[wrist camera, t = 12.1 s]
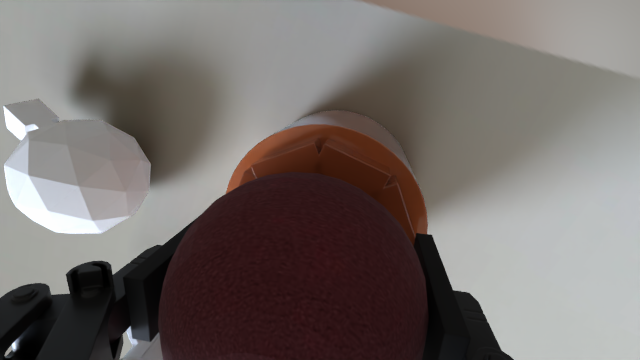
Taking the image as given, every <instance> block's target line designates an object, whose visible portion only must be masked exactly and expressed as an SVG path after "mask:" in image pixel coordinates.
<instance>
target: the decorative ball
mask: <svg viewBox="0 0 640 360" xmlns="http://www.w3.org/2000/svg"><path fill="white" fill-rule="evenodd" d="M428 323H429V313H428V302H427V291H426V281H425V276H424V273H423V270H422V267H421V264H420V261H419V258H418V255H417V253H416V251H415V249H414V247H413V245H412V243H411V241H410V239H409V238H408V236H407V234H406V233H405V231H404V229H403V228H402V226H401V224H400V223H399V222H398V221H397V220H396V219H395V218H394V217H393V215H392V214H391V213H390V212H389V211H388V210H387V209H386V208H385V207H384V206H383V205H382V204H380V203H379V202H378V201H376V200H375V199H374V198H372V197H371V196H369V195H368V194H367V193H365V192H364V191H363V190H361V189H360V188H358V187H356V186H353V185H351V184H349V183H347V182H345V181H343V180H341V179H337V178H334V177H330V176H326V175H322V174H317V173H302V172H287V173H279V174H272V175H266V176H263V177H260V178H258V179H255V180H252V181H249V182H246V183H244V184H242V185H241V186H239V187H237V188H235V189H233V190H232V191H230V192H228V193H227V194H225V195H224V196H222V197H220V198H219V199H217V200H216V201H215V202H214V203H213V204H212V205H211V206H210V207H209V208H208V209H207V210H206V211H205V212H204V213H203V214H201V215H200V217H199V218H198V219H197V220H196V221H195V222H194V223H193V224H192V225H191V226H190V227H189V229H188V230H187V232H186V233H185V235H184V237H183V238H182V240H181V242H180V243H179V245H178V247H177V249H176V251H175V253H174V255H173V257H172V259H171V261H170V263H169V265H168V269H167V272H166V275H165V279H164V282H163V286H162V292H161V297H160V303H159V317H158V328H159V336H160V345H161V351H162V357H163V360H422V357H423V352H424V347H425V342H426V336H427V330H428Z"/></svg>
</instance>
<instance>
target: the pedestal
mask: <svg viewBox="0 0 640 360" xmlns="http://www.w3.org/2000/svg"><path fill="white" fill-rule="evenodd" d="M287 172H302V173H317V174H322V175H326V176H330V177H334V178H337V179H341V180H343V181H345V182H347V183H349V184H351V185H353V186H356V187H358V188H360V189H361V190H363V191H364V192H365V193H367V194H368V195H369V196H371V197H372V198H374V199H375V200H376V201H378V202H379V203H380V204H382V205H383V206H384V207H385V208H386V209H387V210H388V211H389V212H390V213H391V214H392V215H393V217H394V218H395V219H396V220H397V221H398V222H399V223H400V224H401V226H402V228H403V229H404V231H405V233H406V234H407V236H408V238H409V239H410V241H411V243H412V245H413V247H414V242H415V237H416V233H421V234H427V228H428V222H427V211H426V206H425V202H424V198H423V195H422V193H421V190H420V188H419V185H418V183H417V181H416V178H415V176H414V174H413V171H412V169H411V167H410V164H409V162H408V160H407V157H406V155H405V153H404V151H403V149H402V148H401V146H400V144H399V143H398V141H397V140H396V139H395V137H394V136H393V135H392V134H391V133H390V132H389V131H388V130H387V129H386V128H384V127H383V126H382V125H380V124H379V123H378V122H376V121H374V120H372V119H371V118H369V117H366V116H364V115H361V114H358V113H354V112H350V111H343V110H328V111H322V112H317V113H314V114H310V115H308V116H306V117H304V118H301V119H299V120H298V121H296V122H294V123H292V124H291V125H289V126H287V127H285V128H283V129H282V130H280V131H278V132H276V133H274V134H273V135H271V136H269V137H268V138H266V139H264V140H263V141H261V142H260V143H258V144H257V145H256V146H255V147H254V148H252V149H251V150H250V151H249V152H248V153H247V154H246V155H245V157H244V158H243V159H242V160H241V161H240V163H239V164H238V166H237V168H236V169H235V171H234V173H233V175H232V177H231V179H230V182H229V184H228V188H227V192H226V194H227V193H228V192H230V191H232V190H233V189H235V188H237V187H239V186H241V185H242V184H244V183H246V182H249V181H252V180H255V179H258V178H260V177H263V176H266V175H272V174H279V173H287Z"/></svg>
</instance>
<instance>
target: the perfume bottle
mask: <svg viewBox="0 0 640 360" xmlns="http://www.w3.org/2000/svg"><path fill="white" fill-rule="evenodd" d="M4 113H5V120H6V127H7V128H8V129H9V130H10V131H11V132H12V133H13V134H14V135H15V136H16V137H17V138H18V139H19V140H20V141H21V142H20V143H19V145H18V146H17V148H16V149H15V150H14V152H13V153H12V154H11V156H10V157H9V159H8V160H7V161H6V163H5V164H4V169H5V176H6V182H7V189H8V193H9V195H10V197H11V199H12V201H13V203H14V205H15V206H16V207H17V208H18V209H19V210H21V211H22V212H23V213H24V214H25V215H27V216H28V217H29V218H30V219H32V220H33V221H35V222H37V223H39V224H41V225H43V226H44V227H46V228H48V229H50V230H52V231H54V232H60V233H103V232H105V231H107V230H108V229H110V228H112V227H114V226H115V225H117V224H119V223H120V222H122V221H124V220H126V219H127V218H129V217H131V216H133V215H134V214H135V213H136V211H137V210H138V208H139V207H140V205H141V203H142V202H143V200H144V199H145V197H146V195H147V194H148V192H149V186H150V172H151V163H150V162H149V160H148V159H147V157H146V155H145V154H144V152H143V151H142V149H141V148H140V146H139V144H138V143H137V141H136V140H135V138H134V137H132V136H130V135H129V134H127V133H125V132H123V131H121V130H119V129H117V128H116V127H114V126H112V125H110V124H108V123H106V122H104V121H102V120H63V121H60V122H59V117H58V116H57V115H56V114H55V113H54V112H52V111H51V110H50V109H49V108H48V107H47V106H46V105H45V104H44V103H43V102H42V101H41V100H40V99H35V100H29V101H24V102H19V103H14V104H9V105H4Z"/></svg>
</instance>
